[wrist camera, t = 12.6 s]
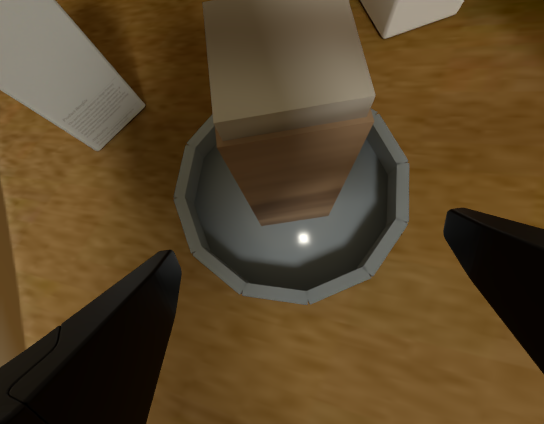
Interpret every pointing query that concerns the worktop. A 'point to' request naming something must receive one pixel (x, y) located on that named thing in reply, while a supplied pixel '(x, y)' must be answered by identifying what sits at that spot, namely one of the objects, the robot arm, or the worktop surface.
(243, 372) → the worktop surface
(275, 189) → the walnut block
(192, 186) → the slate dish
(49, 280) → the worktop surface
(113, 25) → the worktop surface
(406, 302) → the worktop surface
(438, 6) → the medicine bottle
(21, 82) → the skincare box
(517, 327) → the robot arm
